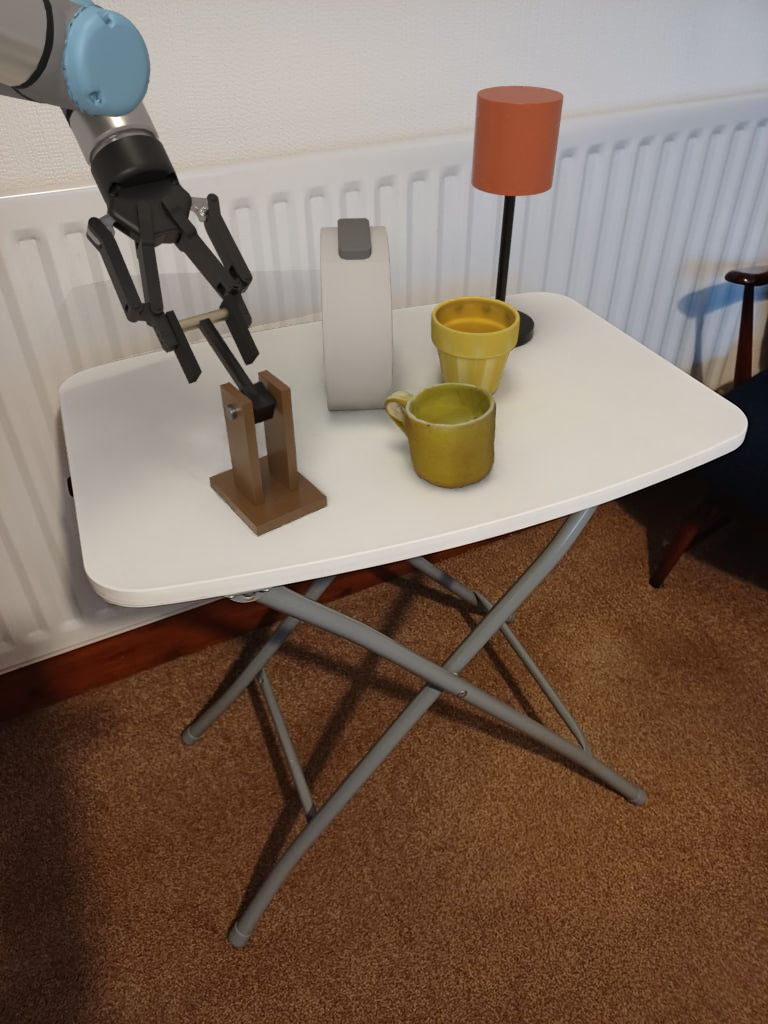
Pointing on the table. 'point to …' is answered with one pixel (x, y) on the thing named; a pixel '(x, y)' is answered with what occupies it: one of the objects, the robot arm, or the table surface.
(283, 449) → the wooden lever stand
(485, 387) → the flower pot
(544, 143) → the lamp
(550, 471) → the table surface
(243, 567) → the table surface
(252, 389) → the switch lever
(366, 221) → the alarm clock
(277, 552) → the table surface
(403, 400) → the mug
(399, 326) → the table surface
